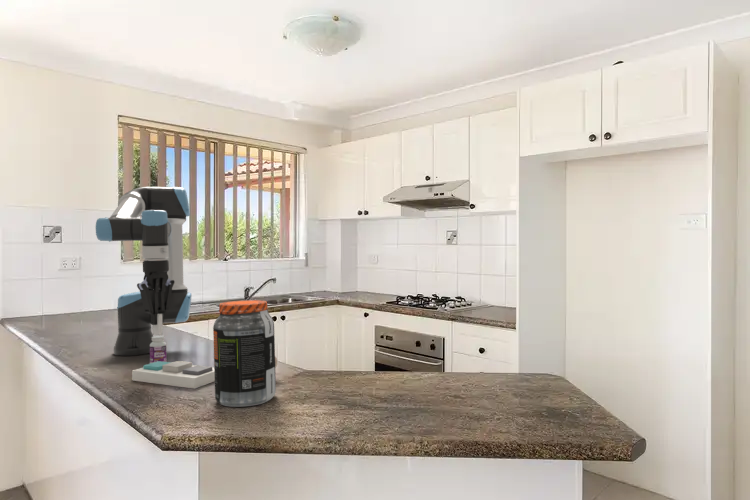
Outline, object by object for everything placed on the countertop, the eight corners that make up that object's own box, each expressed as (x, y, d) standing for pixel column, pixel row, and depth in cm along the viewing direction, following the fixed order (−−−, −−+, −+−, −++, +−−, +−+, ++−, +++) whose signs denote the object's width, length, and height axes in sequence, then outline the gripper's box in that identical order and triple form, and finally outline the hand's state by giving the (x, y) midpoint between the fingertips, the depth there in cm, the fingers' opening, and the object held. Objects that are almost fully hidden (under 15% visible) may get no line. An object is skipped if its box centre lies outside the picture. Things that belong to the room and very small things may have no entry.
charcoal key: (197, 374, 158) (197, 365, 158) (212, 376, 156) (212, 366, 156) (182, 379, 153) (182, 369, 153) (198, 381, 150) (197, 371, 150)
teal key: (158, 370, 165) (158, 361, 165) (172, 372, 162) (172, 362, 162) (143, 375, 159) (143, 365, 159) (157, 376, 157) (157, 367, 157)
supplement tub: (288, 395, 139) (286, 300, 138) (246, 412, 125) (243, 307, 125) (245, 388, 147) (243, 297, 146) (201, 403, 133) (199, 304, 133)
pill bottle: (155, 366, 175) (154, 338, 175) (147, 364, 178) (146, 336, 178) (169, 363, 179) (169, 336, 179) (161, 361, 182) (160, 334, 182)
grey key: (177, 370, 162) (177, 360, 162) (192, 371, 159) (192, 362, 159) (162, 374, 156) (162, 365, 156) (177, 376, 154) (177, 366, 154)
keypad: (162, 371, 168) (162, 362, 168) (223, 378, 158) (222, 368, 158) (132, 380, 157) (131, 370, 157) (194, 388, 147) (194, 378, 147)
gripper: (147, 260, 153) (149, 339, 154) (180, 258, 165) (182, 331, 166) (129, 260, 156) (131, 337, 157) (163, 258, 168) (165, 330, 169)
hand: (157, 334), depth 161 cm, fingers closed
